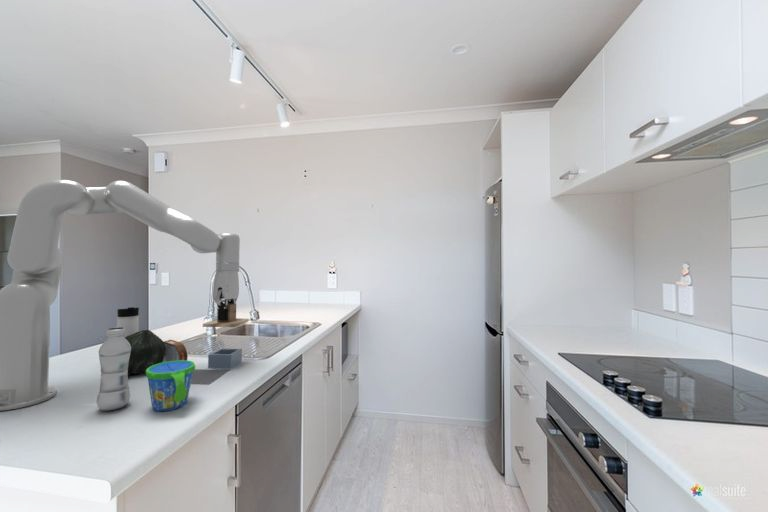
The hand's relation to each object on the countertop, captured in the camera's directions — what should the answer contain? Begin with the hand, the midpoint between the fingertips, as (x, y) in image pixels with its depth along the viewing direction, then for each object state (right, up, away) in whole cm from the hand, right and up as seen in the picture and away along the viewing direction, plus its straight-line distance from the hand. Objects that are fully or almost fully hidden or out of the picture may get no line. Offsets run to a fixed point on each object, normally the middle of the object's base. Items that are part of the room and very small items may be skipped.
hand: (226, 318), depth 115 cm
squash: (-25, -17, -8) cm, 31 cm away
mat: (-2, -17, -12) cm, 21 cm away
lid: (0, -2, 0) cm, 2 cm away
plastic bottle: (-12, -16, -34) cm, 40 cm away
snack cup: (+1, -16, -32) cm, 36 cm away
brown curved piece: (-19, -17, 0) cm, 26 cm away
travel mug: (-38, -17, +3) cm, 42 cm away
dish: (0, -17, 0) cm, 17 cm away
